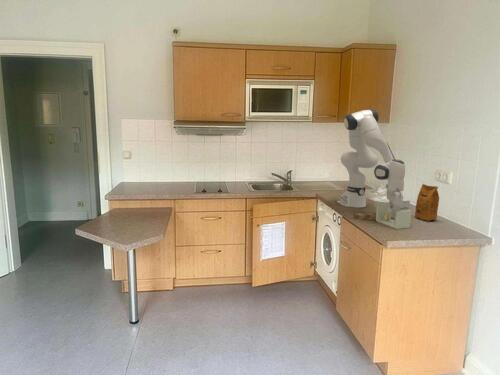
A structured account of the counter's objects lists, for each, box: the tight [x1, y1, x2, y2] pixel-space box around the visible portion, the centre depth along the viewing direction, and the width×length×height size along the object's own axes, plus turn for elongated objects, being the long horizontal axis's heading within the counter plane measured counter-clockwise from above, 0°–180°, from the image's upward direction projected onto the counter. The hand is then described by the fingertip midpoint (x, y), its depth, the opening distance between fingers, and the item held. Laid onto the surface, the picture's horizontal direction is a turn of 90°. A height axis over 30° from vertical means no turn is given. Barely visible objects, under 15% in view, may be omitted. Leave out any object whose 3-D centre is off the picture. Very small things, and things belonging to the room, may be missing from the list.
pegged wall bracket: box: [374, 203, 412, 230], centre depth 213 cm, size 18×10×10 cm, turn 21°
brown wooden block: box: [353, 212, 376, 221], centre depth 224 cm, size 14×5×4 cm, turn 92°
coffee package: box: [414, 183, 440, 222], centre depth 227 cm, size 10×12×22 cm
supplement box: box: [391, 198, 411, 220], centre depth 226 cm, size 7×7×13 cm
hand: (393, 210), depth 213 cm, fingers open, 8 cm apart
